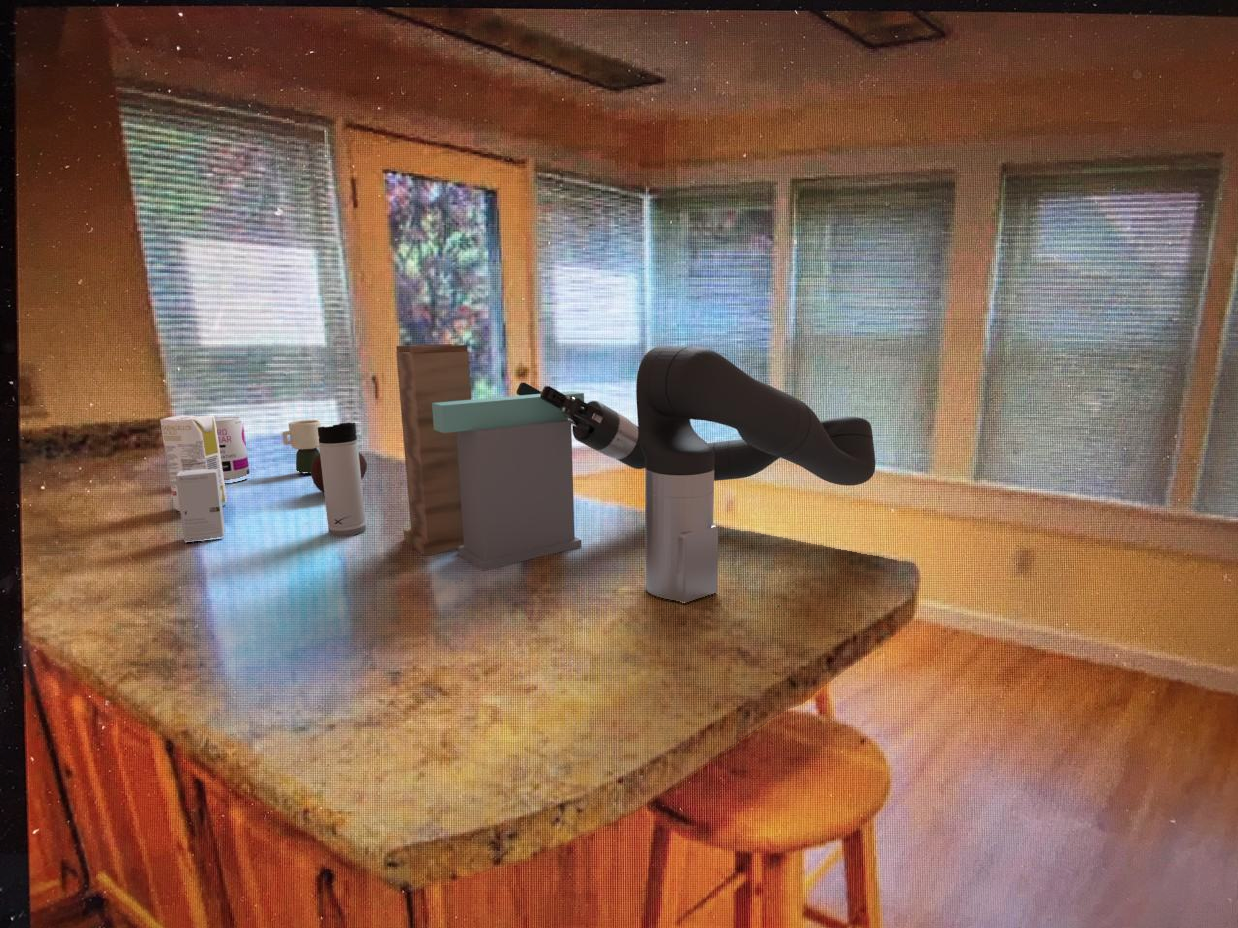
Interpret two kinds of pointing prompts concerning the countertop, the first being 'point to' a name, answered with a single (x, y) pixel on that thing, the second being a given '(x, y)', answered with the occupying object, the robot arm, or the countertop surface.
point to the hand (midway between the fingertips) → (530, 389)
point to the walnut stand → (432, 443)
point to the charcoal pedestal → (516, 492)
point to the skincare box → (200, 504)
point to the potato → (317, 471)
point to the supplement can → (232, 447)
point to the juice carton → (191, 448)
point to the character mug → (303, 442)
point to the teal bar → (495, 412)
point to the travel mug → (342, 479)
